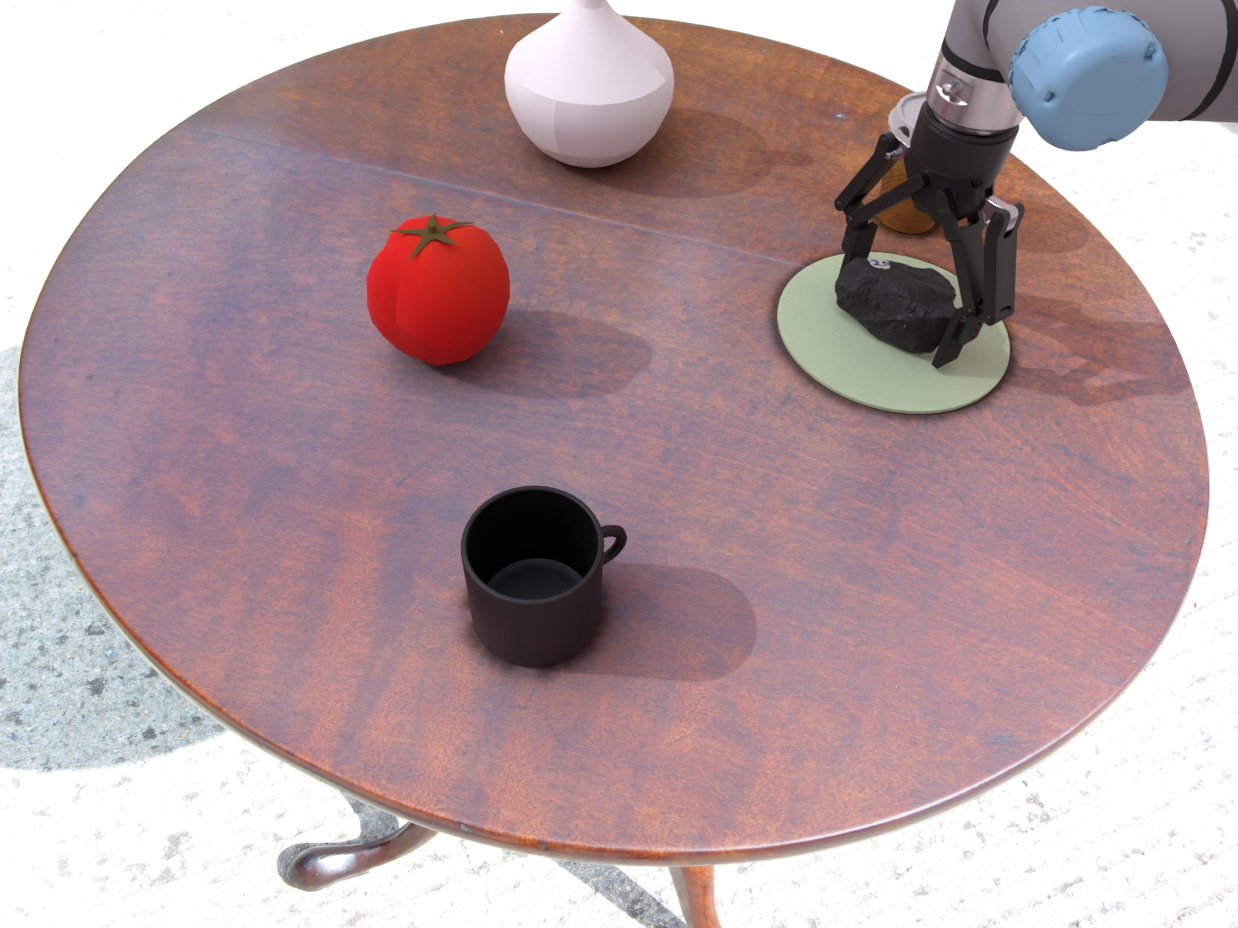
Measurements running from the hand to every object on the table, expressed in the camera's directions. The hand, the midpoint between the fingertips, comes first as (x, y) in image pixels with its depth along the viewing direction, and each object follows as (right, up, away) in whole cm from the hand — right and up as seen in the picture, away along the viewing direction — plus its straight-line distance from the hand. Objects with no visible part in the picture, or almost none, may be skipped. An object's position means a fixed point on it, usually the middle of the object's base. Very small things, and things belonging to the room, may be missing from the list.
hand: (894, 320), depth 87 cm
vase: (-30, +23, +18) cm, 42 cm away
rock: (0, 0, 0) cm, 0 cm away
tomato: (-42, -3, -3) cm, 42 cm away
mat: (0, -1, +1) cm, 1 cm away
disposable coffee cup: (+5, +13, +12) cm, 18 cm away
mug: (-31, -24, -19) cm, 44 cm away
